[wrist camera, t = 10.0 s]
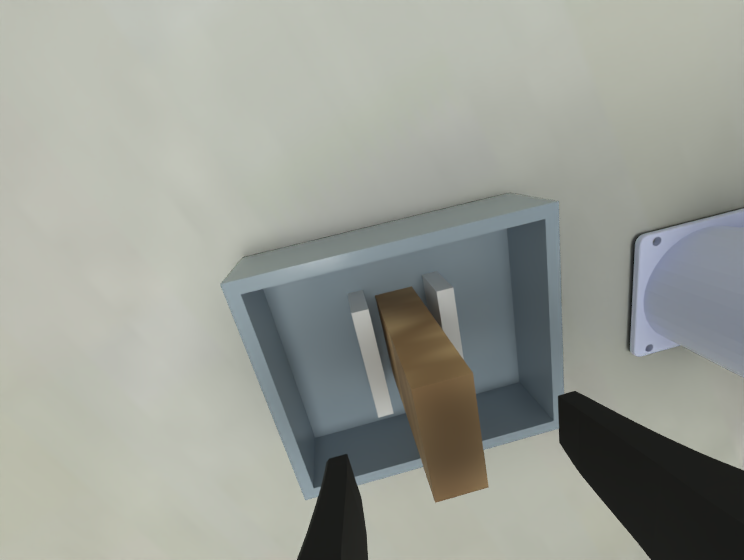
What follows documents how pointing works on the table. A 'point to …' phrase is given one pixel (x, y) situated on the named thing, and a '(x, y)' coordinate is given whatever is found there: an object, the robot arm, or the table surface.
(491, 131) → the table surface
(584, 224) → the table surface
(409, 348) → the wooden rectangular block
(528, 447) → the table surface
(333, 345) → the slotted square caddy
